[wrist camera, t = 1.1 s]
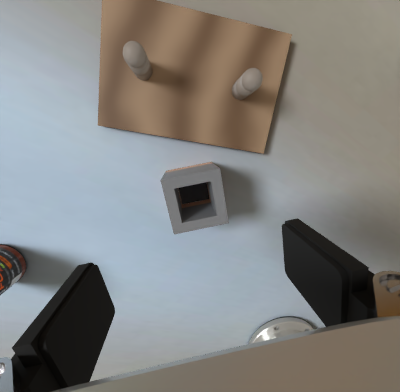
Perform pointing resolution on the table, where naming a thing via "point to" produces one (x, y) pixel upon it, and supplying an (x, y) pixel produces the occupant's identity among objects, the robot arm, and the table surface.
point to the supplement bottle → (10, 267)
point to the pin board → (188, 74)
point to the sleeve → (200, 210)
